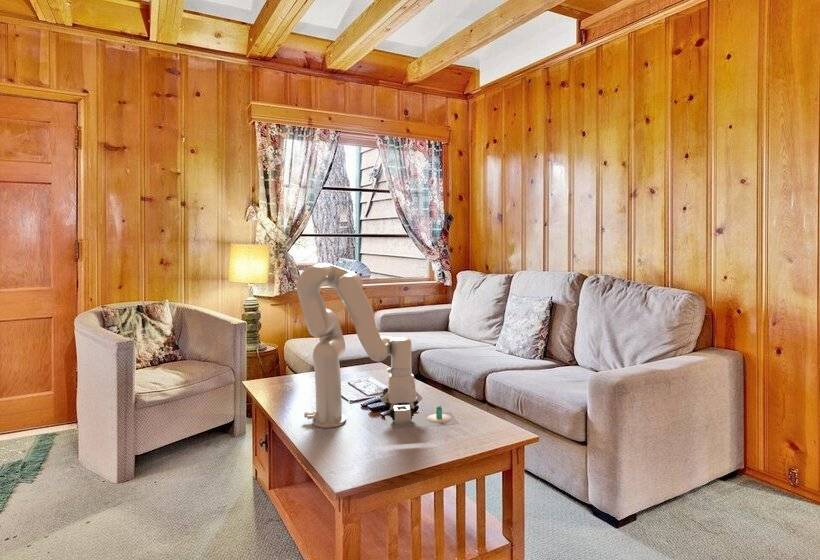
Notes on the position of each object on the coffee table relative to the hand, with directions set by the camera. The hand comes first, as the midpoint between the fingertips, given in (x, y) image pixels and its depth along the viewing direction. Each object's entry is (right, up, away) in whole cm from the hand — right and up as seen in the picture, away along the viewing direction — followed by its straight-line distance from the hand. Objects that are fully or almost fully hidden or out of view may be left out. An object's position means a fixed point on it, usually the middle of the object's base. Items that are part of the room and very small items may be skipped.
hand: (401, 418), depth 190 cm
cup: (-4, -1, +17) cm, 17 cm away
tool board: (+7, -2, +1) cm, 8 cm away
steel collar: (0, -1, 0) cm, 1 cm away
